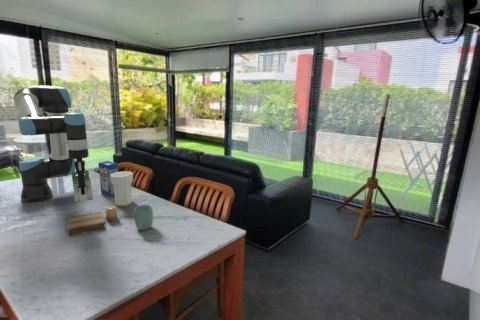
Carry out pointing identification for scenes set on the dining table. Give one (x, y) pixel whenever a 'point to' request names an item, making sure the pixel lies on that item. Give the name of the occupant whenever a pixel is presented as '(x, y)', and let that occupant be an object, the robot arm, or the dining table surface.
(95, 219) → the podium
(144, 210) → the cup
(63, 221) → the dining table surface
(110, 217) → the wooden peg
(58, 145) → the robot arm
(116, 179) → the cup
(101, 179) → the milk carton
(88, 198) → the ink box
